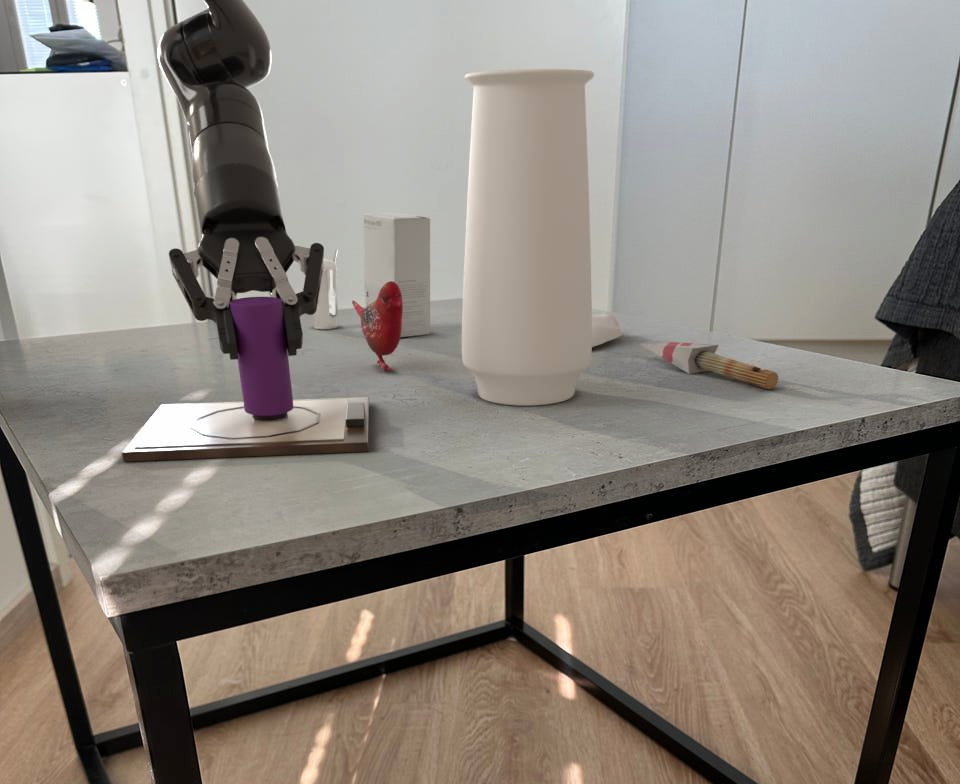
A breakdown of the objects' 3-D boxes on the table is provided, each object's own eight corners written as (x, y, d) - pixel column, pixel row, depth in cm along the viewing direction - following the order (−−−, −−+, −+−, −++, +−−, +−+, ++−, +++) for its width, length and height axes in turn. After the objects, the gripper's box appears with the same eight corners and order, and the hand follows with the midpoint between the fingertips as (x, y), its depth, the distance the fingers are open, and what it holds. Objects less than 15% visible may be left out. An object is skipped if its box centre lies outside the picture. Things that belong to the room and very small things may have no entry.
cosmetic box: (365, 330, 128) (357, 213, 121) (401, 325, 131) (396, 211, 124) (397, 339, 122) (391, 216, 115) (435, 333, 125) (431, 213, 118)
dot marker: (242, 423, 82) (226, 306, 77) (248, 409, 86) (233, 297, 81) (292, 421, 83) (279, 304, 78) (296, 408, 87) (283, 295, 82)
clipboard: (123, 462, 76) (119, 443, 75) (162, 412, 90) (160, 397, 89) (368, 451, 77) (366, 434, 77) (369, 404, 91) (368, 389, 91)
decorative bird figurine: (391, 383, 100) (385, 284, 95) (345, 354, 114) (338, 267, 109) (416, 380, 100) (412, 283, 96) (367, 352, 115) (361, 266, 110)
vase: (523, 374, 102) (525, 80, 89) (615, 392, 94) (633, 72, 81) (436, 395, 94) (425, 75, 81) (529, 417, 86) (533, 66, 73)
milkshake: (353, 326, 131) (347, 250, 127) (323, 331, 128) (316, 254, 123) (333, 322, 134) (326, 248, 130) (303, 327, 131) (295, 251, 126)
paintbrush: (662, 327, 109) (787, 365, 94) (659, 351, 111) (782, 392, 96) (636, 330, 108) (759, 369, 93) (634, 354, 109) (755, 396, 94)
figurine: (530, 314, 132) (526, 188, 123) (645, 327, 122) (650, 192, 113) (445, 352, 119) (434, 214, 110) (567, 370, 109) (566, 222, 100)
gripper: (149, 162, 79) (172, 330, 75) (316, 158, 83) (347, 320, 78) (162, 225, 86) (183, 383, 82) (315, 220, 90) (343, 371, 85)
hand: (263, 351), depth 80 cm, fingers closed on dot marker, 4 cm apart
